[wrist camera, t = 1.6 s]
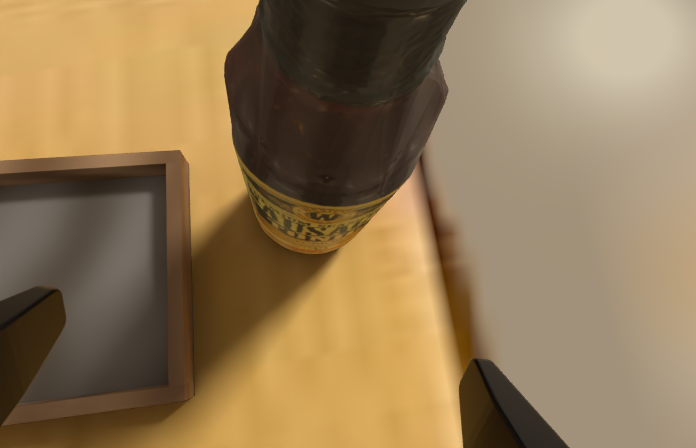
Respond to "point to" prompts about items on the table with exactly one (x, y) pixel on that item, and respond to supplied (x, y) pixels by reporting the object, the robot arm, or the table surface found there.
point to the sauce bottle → (333, 110)
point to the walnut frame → (103, 277)
